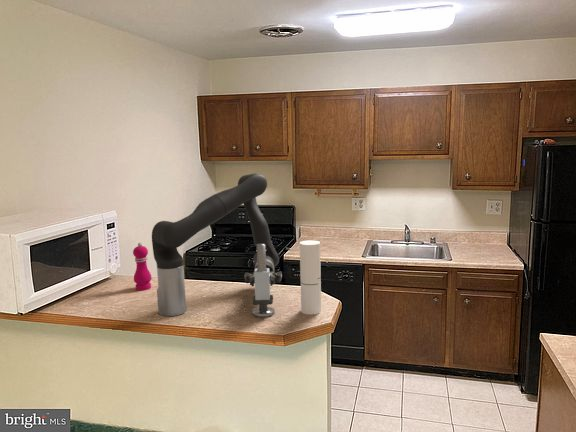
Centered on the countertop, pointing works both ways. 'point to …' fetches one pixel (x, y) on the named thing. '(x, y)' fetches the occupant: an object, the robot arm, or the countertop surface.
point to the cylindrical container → (310, 277)
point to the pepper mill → (141, 268)
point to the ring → (263, 301)
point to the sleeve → (262, 285)
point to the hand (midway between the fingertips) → (262, 283)
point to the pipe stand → (261, 263)
